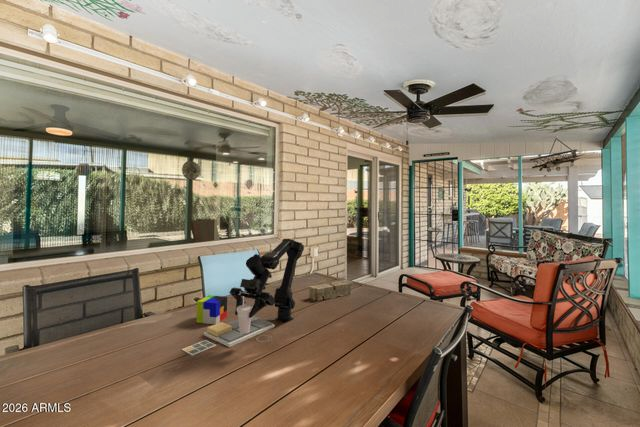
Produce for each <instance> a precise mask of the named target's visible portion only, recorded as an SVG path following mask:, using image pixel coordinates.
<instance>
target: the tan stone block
mask: <svg viewBox="0 0 640 427" xmlns="http://www.w3.org/2000/svg"><path fill="white" fill-rule="evenodd" d="M353 286H354V283H353V282H352V281H349V280H345V279H344V280H340V281H333V282H330V283H329V284H328V283H322V284H317V285H311V286H308V293H309V294H308V299H309V298H311V299H310V300H312V299H313V300H312V301H314V300H315V301H316V300H318V301H317V302H320V301H319V300H322V301H323V299H327V298H332V297H336V296H340V295H345V294H349V293H351V294H352V287H353ZM322 298H323V299H322ZM332 299H333V298H332ZM327 300H328V299H327Z"/></svg>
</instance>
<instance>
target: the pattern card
mask: <svg viewBox="0 0 640 427" xmlns="http://www.w3.org/2000/svg"><path fill="white" fill-rule="evenodd" d="M216 346H217V344H215V343H212V342H210V341H209V340H207V339H205V340H202V341H199V342H197V343H194V344H192V345H190V346H187V347H184V348H182V349H181V350H182V351H183V352H184V353H187V354H189V355H190V356H192V357H193V356H196V355H198V354H200V353H202V352H204V351H205V352H206V351H207V350H209V349H211V348H214V347H216Z"/></svg>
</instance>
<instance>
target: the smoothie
mask: <svg viewBox="0 0 640 427" xmlns="http://www.w3.org/2000/svg"><path fill="white" fill-rule="evenodd" d="M244 301H245V298H244V296H243V305H240V306H238V307H237V313H238V315H237V320H238V322H239V331H240V333H242V334H246V333H248V332H249V330H250V323H251V318H249V314H250V312H251V310H252V308H253V306H254V305H252V304H251V305H250V304H244Z"/></svg>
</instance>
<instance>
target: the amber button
mask: <svg viewBox="0 0 640 427" xmlns="http://www.w3.org/2000/svg"><path fill="white" fill-rule="evenodd" d="M206 330H207V331H206V332H208V333H210V334H212V335H214V336H216V337H219V335H222V334H224V333H227V332H229V331H232V326H230V325H228V324H226V323H225V322H223V321H220V322H219V323H217V324H211V325H210V326H207V328H206Z"/></svg>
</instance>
